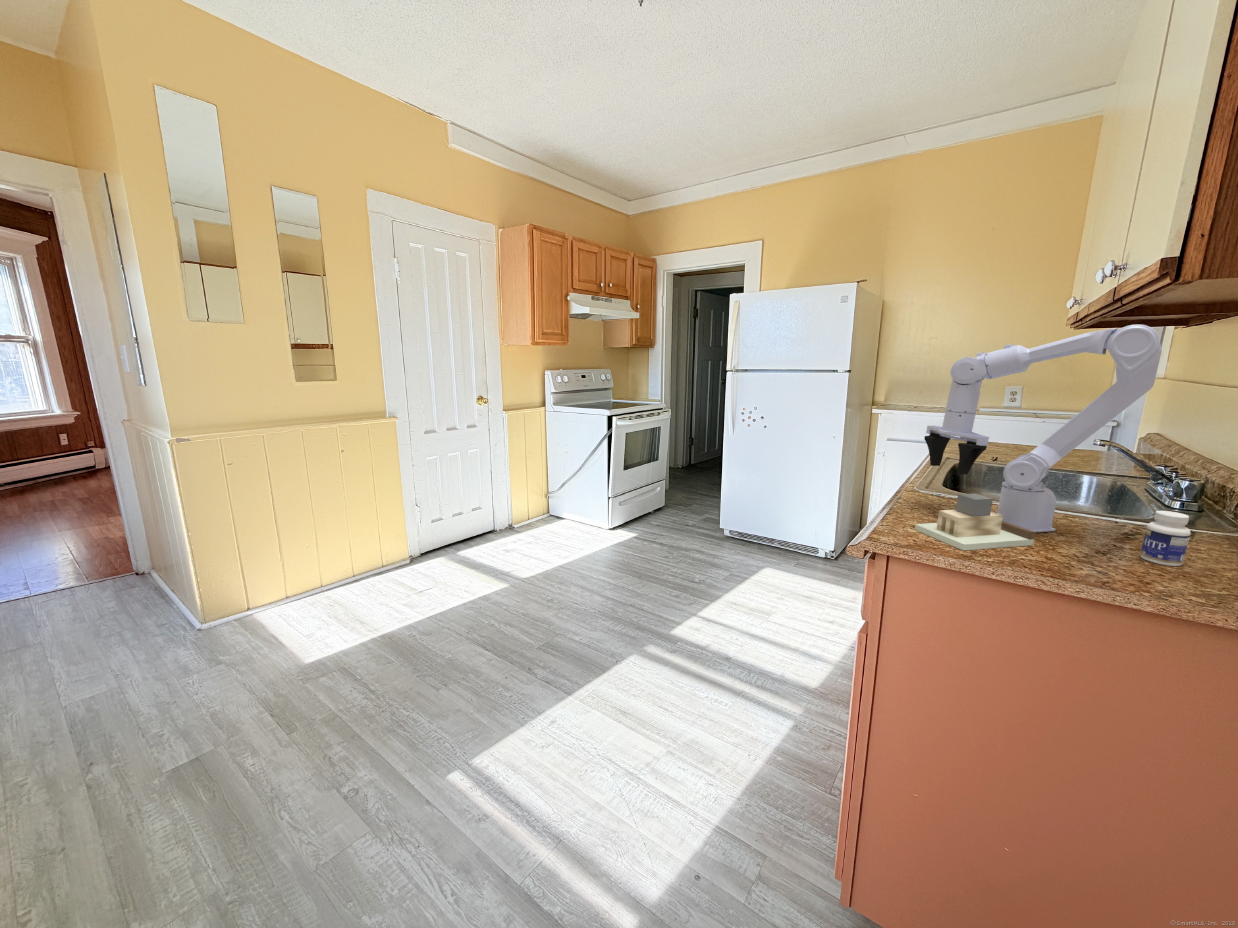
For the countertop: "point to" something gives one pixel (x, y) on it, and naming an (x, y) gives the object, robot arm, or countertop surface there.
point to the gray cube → (974, 505)
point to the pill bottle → (1166, 539)
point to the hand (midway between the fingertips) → (948, 469)
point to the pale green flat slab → (982, 537)
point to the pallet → (968, 524)
